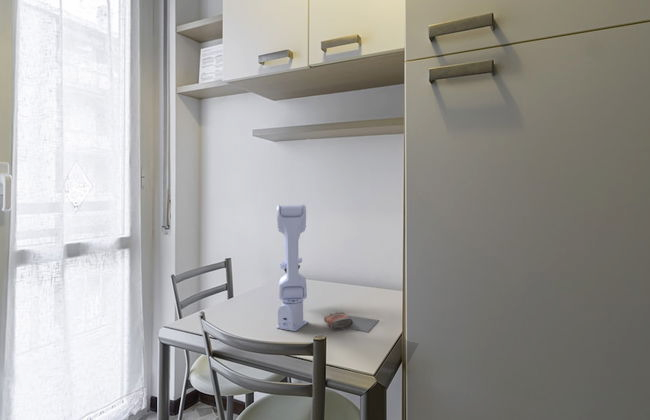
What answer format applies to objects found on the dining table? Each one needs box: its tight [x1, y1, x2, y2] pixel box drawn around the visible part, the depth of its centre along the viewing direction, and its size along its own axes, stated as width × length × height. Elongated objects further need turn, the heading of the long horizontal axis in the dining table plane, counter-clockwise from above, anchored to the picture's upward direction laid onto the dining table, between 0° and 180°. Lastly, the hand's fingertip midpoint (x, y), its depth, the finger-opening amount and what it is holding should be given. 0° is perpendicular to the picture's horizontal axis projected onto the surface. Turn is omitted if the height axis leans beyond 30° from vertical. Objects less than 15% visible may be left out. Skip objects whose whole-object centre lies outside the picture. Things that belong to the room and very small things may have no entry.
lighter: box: [323, 311, 353, 331], centre depth 132 cm, size 8×3×10 cm
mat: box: [345, 314, 380, 333], centre depth 134 cm, size 12×14×1 cm
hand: (292, 282), depth 151 cm, fingers closed
